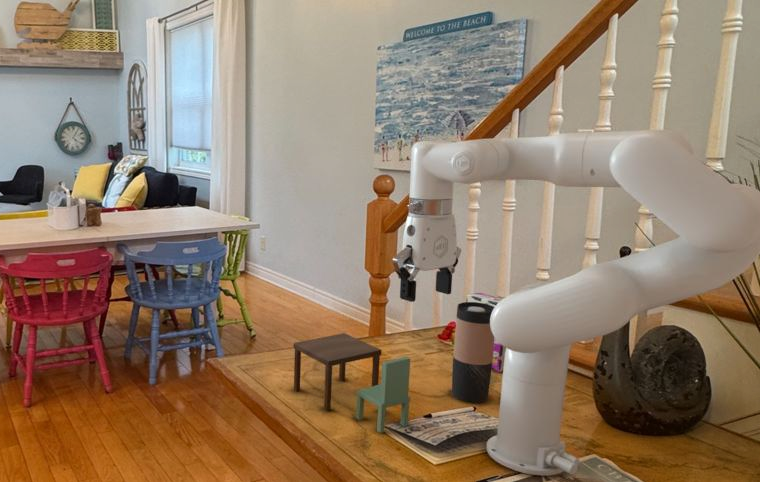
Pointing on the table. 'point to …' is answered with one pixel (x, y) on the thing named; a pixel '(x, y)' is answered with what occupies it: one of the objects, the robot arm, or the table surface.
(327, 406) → the side table
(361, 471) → the table surface
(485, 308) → the travel mug
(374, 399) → the chair
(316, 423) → the table surface
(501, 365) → the candy bar box
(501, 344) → the robot arm
